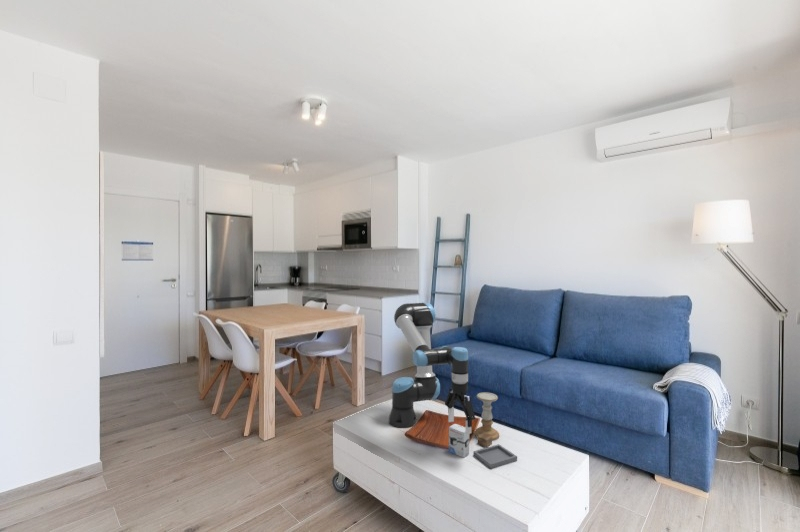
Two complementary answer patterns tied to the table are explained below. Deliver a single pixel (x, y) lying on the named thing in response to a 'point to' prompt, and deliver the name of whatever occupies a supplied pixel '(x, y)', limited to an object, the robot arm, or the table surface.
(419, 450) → the table surface
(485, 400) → the candle holder
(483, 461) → the tray
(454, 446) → the ink box
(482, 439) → the walnut block
